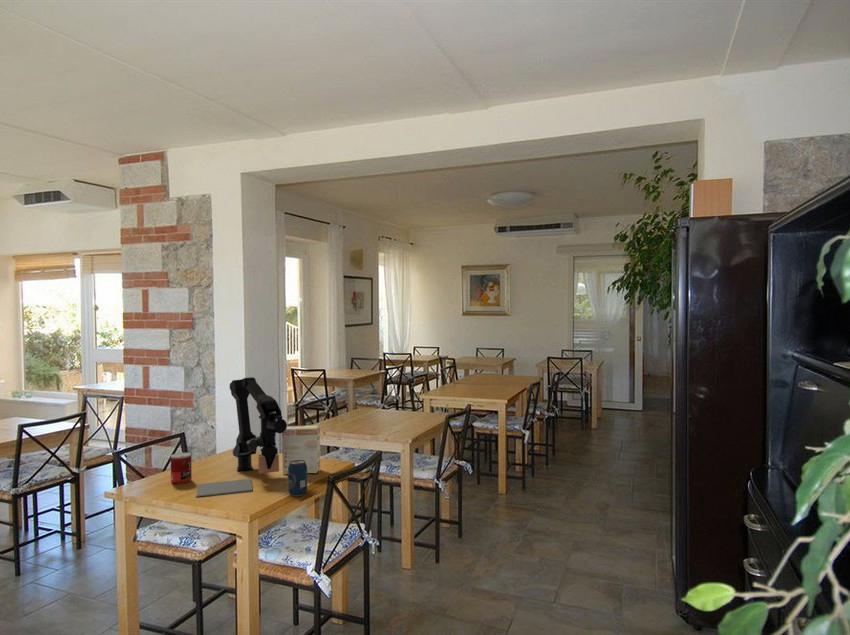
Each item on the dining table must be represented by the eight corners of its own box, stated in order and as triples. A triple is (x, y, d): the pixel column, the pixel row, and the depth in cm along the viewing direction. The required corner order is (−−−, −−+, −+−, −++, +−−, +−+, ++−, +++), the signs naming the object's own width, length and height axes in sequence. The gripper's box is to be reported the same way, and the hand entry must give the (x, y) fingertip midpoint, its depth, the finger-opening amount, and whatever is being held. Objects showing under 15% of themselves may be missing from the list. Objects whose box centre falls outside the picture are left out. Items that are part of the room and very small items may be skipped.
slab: (258, 471, 232) (258, 454, 232) (278, 469, 235) (278, 452, 235) (258, 473, 230) (258, 456, 230) (279, 471, 232) (278, 454, 232)
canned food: (184, 484, 225) (183, 457, 225) (166, 483, 227) (166, 456, 227) (195, 479, 233) (195, 452, 233) (178, 478, 234) (178, 452, 234)
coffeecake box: (321, 469, 244) (320, 425, 244) (317, 474, 237) (316, 428, 237) (286, 470, 245) (286, 425, 245) (282, 474, 237) (281, 428, 237)
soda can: (285, 493, 211) (284, 462, 211) (301, 489, 216) (300, 458, 216) (294, 497, 206) (294, 465, 206) (311, 493, 211) (310, 461, 211)
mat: (198, 485, 224) (198, 484, 224) (251, 480, 230) (251, 478, 230) (196, 497, 208) (196, 495, 208) (252, 491, 215) (252, 489, 215)
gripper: (247, 427, 239) (247, 464, 239) (248, 436, 221) (249, 475, 221) (274, 425, 242) (274, 461, 242) (277, 433, 225) (278, 472, 225)
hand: (268, 467), depth 232 cm, fingers closed on slab, 3 cm apart
